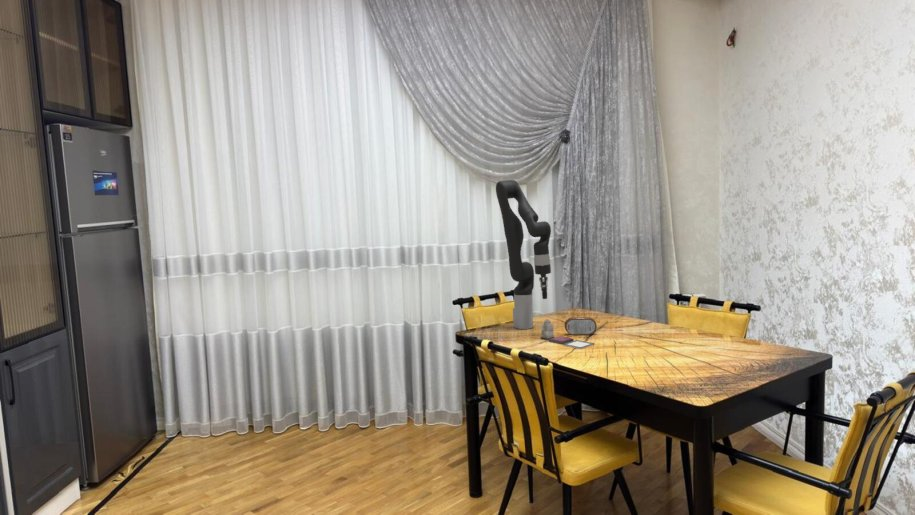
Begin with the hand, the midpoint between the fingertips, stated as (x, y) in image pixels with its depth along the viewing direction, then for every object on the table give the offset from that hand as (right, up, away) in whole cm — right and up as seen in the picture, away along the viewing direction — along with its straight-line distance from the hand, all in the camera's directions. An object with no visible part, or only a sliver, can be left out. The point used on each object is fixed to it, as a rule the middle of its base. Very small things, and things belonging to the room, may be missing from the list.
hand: (544, 297), depth 289 cm
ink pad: (+6, -19, -11) cm, 23 cm away
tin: (+17, -18, 0) cm, 25 cm away
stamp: (+1, -19, -5) cm, 20 cm away
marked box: (+12, -20, -19) cm, 30 cm away
